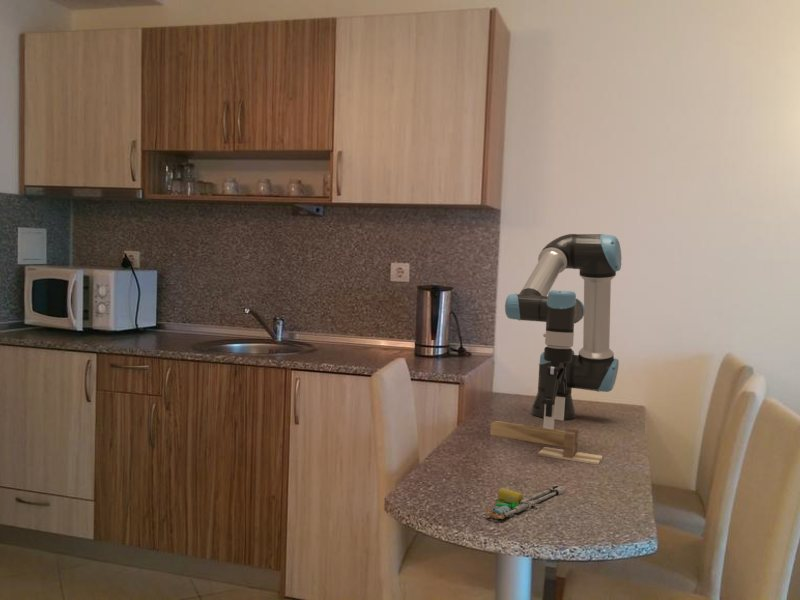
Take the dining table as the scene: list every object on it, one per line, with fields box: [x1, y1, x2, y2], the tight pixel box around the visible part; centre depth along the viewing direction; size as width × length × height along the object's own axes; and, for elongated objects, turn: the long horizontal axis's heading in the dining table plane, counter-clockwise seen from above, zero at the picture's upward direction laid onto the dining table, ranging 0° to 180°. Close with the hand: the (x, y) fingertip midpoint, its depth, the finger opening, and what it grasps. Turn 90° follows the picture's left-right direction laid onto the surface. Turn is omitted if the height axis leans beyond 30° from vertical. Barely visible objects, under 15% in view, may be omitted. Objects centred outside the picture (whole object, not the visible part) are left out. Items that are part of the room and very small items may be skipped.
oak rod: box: [489, 420, 566, 448], centre depth 204 cm, size 4×24×4 cm, turn 62°
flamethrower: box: [486, 485, 566, 520], centre depth 146 cm, size 29×3×10 cm
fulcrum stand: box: [537, 427, 604, 466], centre depth 187 cm, size 8×16×7 cm, turn 66°
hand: (553, 424), depth 189 cm, fingers open, 13 cm apart
